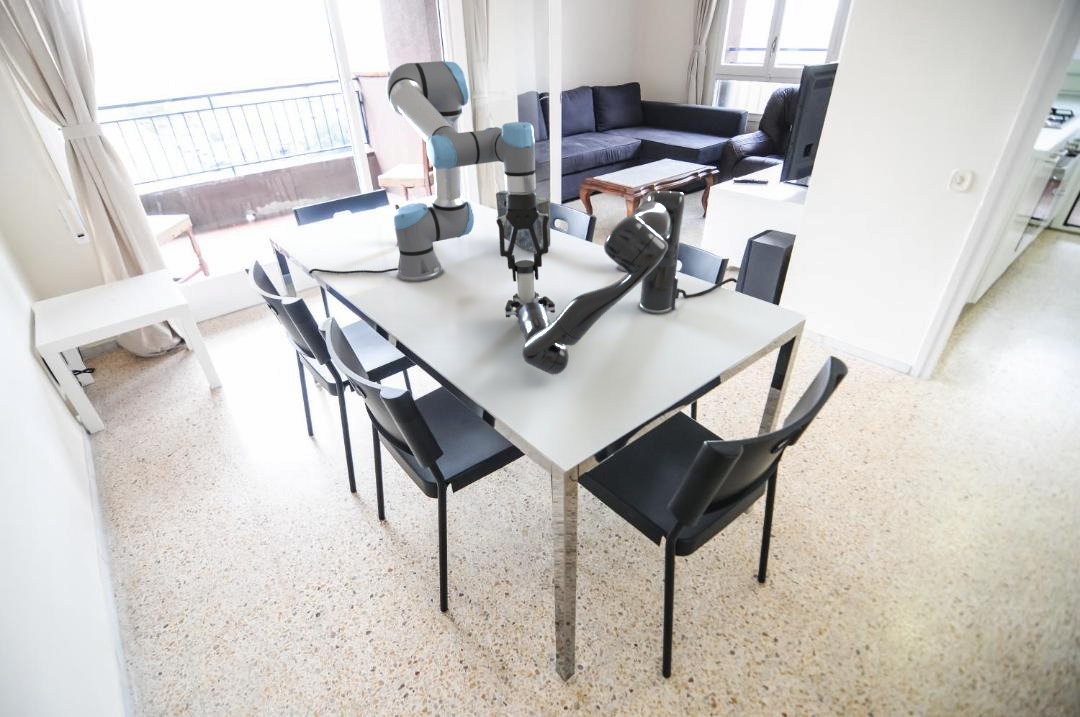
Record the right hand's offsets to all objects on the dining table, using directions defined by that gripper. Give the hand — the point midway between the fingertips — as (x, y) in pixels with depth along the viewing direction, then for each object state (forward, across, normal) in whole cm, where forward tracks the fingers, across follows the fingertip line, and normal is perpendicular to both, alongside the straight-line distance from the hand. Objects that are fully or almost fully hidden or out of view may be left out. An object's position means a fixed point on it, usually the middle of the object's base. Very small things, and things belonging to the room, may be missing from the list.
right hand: (525, 295), depth 141 cm
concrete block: (+60, -9, +7) cm, 61 cm away
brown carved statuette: (+79, +37, +7) cm, 88 cm away
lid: (-3, 0, -10) cm, 11 cm away
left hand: (-3, 0, -6) cm, 7 cm away
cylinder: (-3, 0, +7) cm, 7 cm away
